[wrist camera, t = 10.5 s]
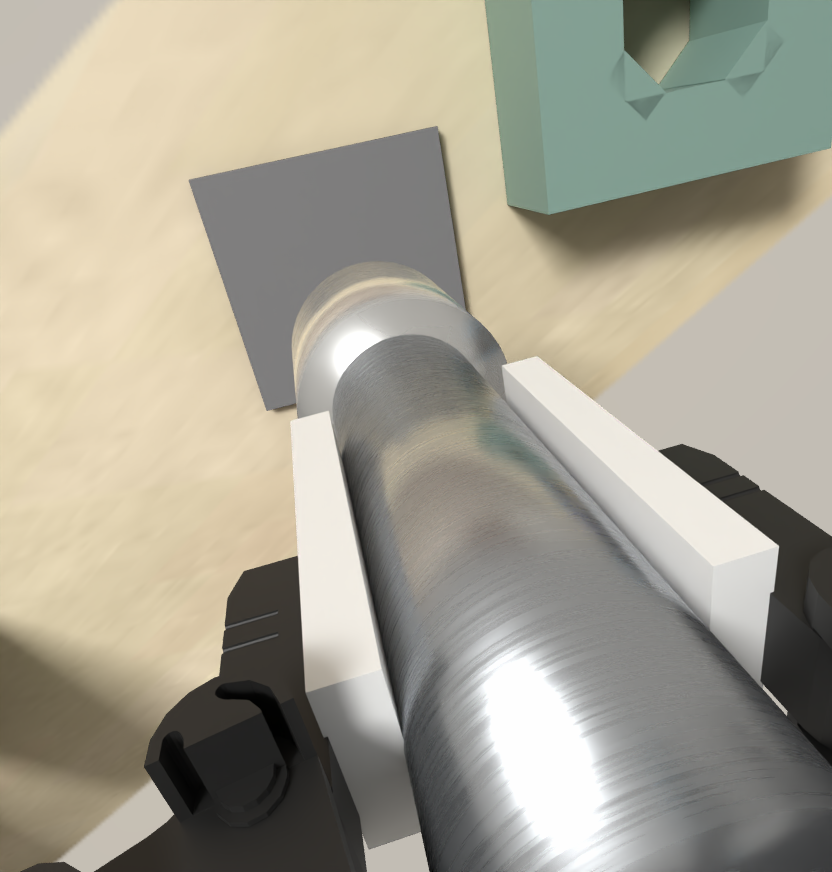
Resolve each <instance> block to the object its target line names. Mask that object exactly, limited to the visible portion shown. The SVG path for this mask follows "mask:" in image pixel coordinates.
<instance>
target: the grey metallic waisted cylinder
mask: <svg viewBox="0 0 832 872" xmlns="http://www.w3.org/2000/svg"><path fill="white" fill-rule="evenodd" d="M292 358H293V369H294V381H295V392H296V404H297V415H298V419H299V418H303V417H307V416H311V415H315V414H318V413H322V412H326V411H329V413H330V417H331V420H332V424H333V427H334V431H335V434H336V438H337V441H338V445H339V448H340V452H341V455H342V460H343V464H344V469H345V473H346V478H347V483H348V487H349V492H350V496H351V501H352V505H353V510H354V515H355V519H356V524H357V528H358V533H359V538H360V542H361V547H362V551H363V556H364V561H365V565H366V570H367V574H368V579H369V584H370V588H371V593H372V597H373V602H374V607H375V611H376V616H377V620H378V625H379V629H380V634H381V639H382V643H383V648H384V652H385V657H386V662H387V666H388V671H389V675H390V680H391V685H392V689H393V694H394V698H395V703H396V708H397V712H398V717H399V721H400V726H401V730H402V735H403V740H404V754H405V759H406V764H407V768H408V773H409V778H410V782H411V787H412V792H413V796H414V801H415V806H416V810H417V815H418V820H419V824H420V829H421V834H422V838H423V843H424V848H425V852H426V857H427V862H428V866H429V871H430V872H832V766H831V765H830V764H829V763H828V762H827V760H826V759H825V758H824V757H823V756H822V755H821V754H820V753H819V752H818V750H817V749H816V748H815V747H814V746H813V745H812V744H811V743H810V741H809V740H808V739H807V738H806V737H805V736H804V735H803V734H802V733H801V731H800V730H799V729H798V728H797V727H796V726H795V725H794V724H793V722H792V721H791V720H790V719H789V718H788V717H787V716H786V715H785V714H784V712H783V711H782V710H781V709H780V708H779V707H778V706H777V705H776V704H775V702H774V701H772V699H771V698H770V697H769V696H768V695H767V693H766V692H765V691H764V690H763V689H762V688H761V687H760V686H759V685H758V683H757V682H756V681H755V680H754V679H753V678H752V677H751V676H750V674H749V673H748V672H747V671H746V670H745V669H744V668H743V667H742V666H741V664H740V663H739V662H738V661H737V660H736V659H735V658H734V657H733V656H732V654H731V653H730V652H729V651H728V650H727V649H726V648H725V647H724V645H723V644H722V643H721V642H720V641H719V640H718V639H717V638H716V637H715V635H714V634H713V633H712V632H711V631H710V630H709V629H708V628H707V626H706V625H705V624H704V623H703V622H702V621H701V620H700V619H699V618H698V616H697V615H696V614H695V613H694V612H693V611H692V610H691V609H690V608H689V606H688V605H687V604H686V603H685V602H684V601H683V600H682V599H681V597H680V596H679V595H678V594H677V593H676V592H675V591H674V590H673V589H672V587H671V586H670V585H669V584H668V583H667V582H666V581H665V580H664V578H663V577H662V576H661V575H660V574H659V573H658V572H657V571H656V570H655V568H654V567H653V566H652V565H651V564H650V563H649V562H648V561H647V560H646V558H645V557H644V556H643V555H642V554H641V553H640V552H639V551H638V549H637V548H636V547H635V546H634V545H633V544H632V543H631V542H630V541H629V539H628V538H627V537H626V536H625V535H624V534H623V533H622V532H621V530H620V529H619V528H618V527H617V526H616V525H615V524H614V523H613V522H612V520H611V519H610V518H609V517H608V516H607V515H606V514H605V513H604V512H603V510H602V509H601V508H600V507H599V506H598V505H597V504H596V503H595V501H594V500H593V499H592V498H591V497H590V496H589V495H588V494H587V493H586V491H585V490H584V489H583V488H582V487H581V486H580V485H579V484H578V482H577V481H576V480H575V479H574V478H573V477H572V476H571V475H570V474H569V472H568V471H567V470H566V469H565V468H564V467H563V466H562V465H561V464H560V462H559V461H558V460H557V459H556V458H555V457H554V456H553V455H552V453H551V452H550V451H549V450H548V449H547V448H546V447H545V446H544V445H543V443H542V442H541V441H540V440H539V439H538V438H537V437H536V436H535V434H534V433H533V432H532V431H531V430H530V429H529V428H528V427H527V426H526V424H525V423H524V422H523V421H522V420H521V419H520V418H519V417H518V416H517V414H516V413H515V412H514V411H513V410H512V409H511V408H510V407H509V405H508V404H507V403H506V395H505V388H504V380H503V373H502V365H505V364H507V362H506V359H505V356H504V354H503V352H502V350H501V348H500V346H499V344H498V343H497V341H496V340H495V339H494V337H493V336H492V334H491V333H490V332H489V331H488V330H487V329H486V328H485V327H484V326H483V325H482V324H481V323H480V322H479V321H478V320H476V319H475V318H474V317H473V316H472V315H471V314H470V313H468V312H467V311H466V310H465V309H464V308H463V307H461V306H460V305H459V304H458V303H457V302H456V301H455V300H453V299H452V298H451V297H450V296H449V295H448V294H447V293H445V292H444V291H443V290H442V289H441V288H440V287H438V286H437V285H436V284H435V283H434V282H433V281H431V280H430V279H429V278H428V277H426V276H425V275H424V274H422V273H420V272H418V271H416V270H415V269H412V268H410V267H407V266H405V265H402V264H397V263H393V262H385V261H371V262H364V263H358V264H355V265H352V266H348V267H346V268H344V269H341V270H339V271H337V272H335V273H334V274H332V275H331V276H329V277H328V278H326V279H325V280H324V281H322V282H321V283H320V284H319V285H318V286H317V287H316V288H315V289H314V290H313V291H312V292H311V293H310V295H309V296H308V297H307V299H306V300H305V302H304V303H303V305H302V307H301V309H300V311H299V313H298V315H297V318H296V321H295V324H294V329H293V334H292Z"/></svg>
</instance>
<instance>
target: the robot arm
mask: <svg viewBox="0 0 832 872" xmlns="http://www.w3.org/2000/svg"><path fill="white" fill-rule="evenodd" d="M502 373H503V380H504V388H505V395H506V403H507V404H508V405H509V407H510V408H511V409H512V410H513V411H514V412H515V413H516V414H517V416H518V417H519V418H520V419H521V420H522V421H523V422H524V423H525V424H526V426H527V427H528V428H529V429H530V430H531V431H532V432H533V433H534V434H535V436H536V437H537V438H538V439H539V440H540V441H541V442H542V443H543V445H544V446H545V447H546V448H547V449H548V450H549V451H550V452H551V453H552V455H553V456H554V457H555V458H556V459H557V460H558V461H559V462H560V464H561V465H562V466H563V467H564V468H565V469H566V470H567V471H568V472H569V474H570V475H571V476H572V477H573V478H574V479H575V480H576V481H577V482H578V484H579V485H580V486H581V487H582V488H583V489H584V490H585V491H586V493H587V494H588V495H589V496H590V497H591V498H592V499H593V500H594V501H595V503H596V504H597V505H598V506H599V507H600V508H601V509H602V510H603V512H604V513H605V514H606V515H607V516H608V517H609V518H610V519H611V520H612V522H613V523H614V524H615V525H616V526H617V527H618V528H619V529H620V530H621V532H622V533H623V534H624V535H625V536H626V537H627V538H628V539H629V541H630V542H631V543H632V544H633V545H634V546H635V547H636V548H637V549H638V551H639V552H640V553H641V554H642V555H643V556H644V557H645V558H646V560H647V561H648V562H649V563H650V564H651V565H652V566H653V567H654V568H655V570H656V571H657V572H658V573H659V574H660V575H661V576H662V577H663V578H664V580H665V581H666V582H667V583H668V584H669V585H670V586H671V587H672V589H673V590H674V591H675V592H676V593H677V594H678V595H679V596H680V597H681V599H682V600H683V601H684V602H685V603H686V604H687V605H688V606H689V608H690V609H691V610H692V611H693V612H694V613H695V614H696V615H697V616H698V618H699V619H700V620H701V621H702V622H703V623H704V624H705V625H706V626H707V628H708V629H709V630H710V631H711V632H712V633H713V634H714V635H715V637H716V638H717V639H718V640H719V641H720V642H721V643H722V644H723V645H724V647H725V648H726V649H727V650H728V651H729V652H730V653H731V654H732V656H733V657H734V658H735V659H736V660H737V661H738V662H739V663H740V664H741V666H742V667H743V668H744V669H745V670H746V671H747V672H748V673H749V674H750V676H751V677H752V678H753V679H754V680H755V681H756V682H757V683H758V685H759V686H760V687H761V688H763V685H765V687H766V688H767V689H768V690H769V691H770V692H771V693H772V694H773V695H774V697H776V699H777V700H778V701H779V702H780V703H781V704H782V705H783V706H784V707H785V709H786V710H787V711H788V712H787V717H788V718H789V719H790V720H791V721H792V722H793V724H794V725H795V726H796V727H797V728H798V729H799V730H800V731H801V733H802V734H803V735H804V736H805V737H806V738H807V739H808V740H809V741H810V743H811V744H812V745H813V746H814V747H815V748H816V749H817V750H818V752H819V753H820V754H821V755H822V756H823V757H824V758H825V759H826V760H827V762H828V763H829V764H830V765H831V766H832V536H830V535H829V534H827V533H826V532H824V531H823V530H822V529H820V528H819V527H817V526H816V525H814V524H813V523H811V522H810V521H808V520H807V519H806V518H804V517H803V516H801V515H800V514H798V513H797V512H795V511H794V510H793V509H791V508H790V507H788V506H787V505H785V504H784V503H782V502H781V501H780V500H778V499H777V498H775V497H774V496H772V495H771V494H770V493H768V492H767V491H765V490H762V491H761V490H760V489H759V486H758V485H756V484H755V483H754V482H752V481H751V480H749V479H748V478H746V477H745V476H740V475H739V473H738V471H736V470H735V469H734V468H732V467H731V466H729V465H728V464H726V463H725V462H723V461H722V460H721V459H719V458H717V457H716V456H715V455H713V454H709V453H706V452H704V451H701V450H698V449H695V448H692V447H689V446H686V445H683V444H680V445H677V446H673V447H670V448H666V449H663V450H659V451H657V450H656V449H655V448H653V447H652V446H651V445H650V444H648V443H647V442H646V441H644V440H643V439H642V438H641V437H639V436H638V435H637V434H635V433H634V432H633V431H632V430H630V429H629V428H628V427H627V426H625V425H624V424H623V423H622V422H620V421H619V420H618V419H616V418H615V417H614V416H613V415H611V414H610V413H609V412H607V411H606V410H605V409H604V408H602V407H601V406H599V404H597V403H596V402H595V401H594V400H592V399H591V398H590V397H588V396H587V395H586V394H585V393H583V392H582V391H581V390H580V389H578V388H577V387H576V386H574V385H573V384H572V383H571V382H569V381H568V380H567V379H566V378H564V377H563V376H562V375H560V374H559V373H558V372H557V371H555V370H554V369H553V368H552V367H550V366H549V365H548V364H546V363H545V362H544V361H543V360H541V359H540V358H539V357H537V356H536V357H532V358H528V359H525V360H521V361H517V362H513V363H509V364H505V365H502ZM291 439H292V457H293V475H294V493H295V511H296V529H297V547H298V556H296V557H292V558H289V559H285V560H282V561H278V562H275V563H271V564H268V565H264V566H261V567H257V568H254V569H250V570H247V571H244V572H243V574H242V575H241V577H240V578H239V580H238V582H237V583H236V585H235V587H234V588H233V590H232V592H231V593H230V595H229V597H228V600H227V609H226V619H225V628H226V630H225V631H224V637H223V646H222V649H223V654H222V656H221V665H220V674H219V676H218V677H215V678H213V679H211V680H210V681H208V682H206V683H205V684H203V685H201V686H199V687H198V688H196V689H194V690H193V691H191V692H189V693H188V694H187V695H186V696H185V697H184V698H183V699H182V700H181V701H180V702H179V703H178V704H177V705H175V706H174V707H173V708H172V709H171V710H170V711H169V712H168V713H167V714H166V715H165V717H164V719H163V720H162V722H161V723H160V725H159V727H158V728H157V730H156V732H155V733H154V735H153V736H152V738H151V740H150V743H149V747H148V752H147V756H146V760H145V765H144V768H145V769H146V771H147V772H148V774H149V775H150V777H151V779H152V780H153V782H154V783H155V785H156V786H157V788H158V790H159V791H160V793H161V794H162V796H163V797H164V799H165V800H166V802H167V803H168V805H169V806H170V808H171V810H172V811H173V813H174V815H173V816H172V817H171V818H170V819H169V820H168V821H167V822H166V823H165V824H164V825H162V826H161V827H160V828H158V829H157V830H156V831H155V832H153V833H152V834H151V835H149V836H148V837H147V838H145V839H144V840H142V841H141V842H139V843H138V844H136V845H134V846H133V847H131V848H130V849H128V850H127V851H125V852H124V853H122V854H121V855H119V856H118V857H116V858H114V859H113V860H111V861H110V862H108V863H107V864H105V865H104V866H102V867H101V868H99V869H98V870H96V871H94V872H367V870H366V861H365V853H364V846H363V837H362V834H363V836H364V839H365V841H366V844H367V846H368V849H372V848H375V847H378V846H381V845H384V844H387V843H390V842H392V841H395V840H399V839H401V838H404V837H407V836H410V835H413V834H416V833H419V832H421V829H420V824H419V820H418V815H417V810H416V806H415V801H414V796H413V792H412V787H411V782H410V778H409V773H408V768H407V764H406V759H405V754H404V740H403V735H402V730H401V726H400V721H399V717H398V712H397V708H396V703H395V698H394V694H393V689H392V685H391V680H390V675H389V671H388V666H387V662H386V657H385V652H384V648H383V643H382V639H381V634H380V629H379V625H378V620H377V616H376V611H375V607H374V602H373V597H372V593H371V588H370V584H369V579H368V574H367V570H366V565H365V561H364V556H363V551H362V547H361V542H360V538H359V533H358V528H357V524H356V519H355V515H354V510H353V505H352V501H351V496H350V492H349V487H348V483H347V478H346V473H345V469H344V464H343V460H342V455H341V452H340V448H339V445H338V441H337V438H336V434H335V431H334V427H333V424H332V420H331V417H330V413H329V411H326V412H322V413H318V414H315V415H311V416H307V417H303V418H299V419H295V420H292V421H291ZM21 872H80V871H79V870H77V869H75V868H74V867H72V866H70V865H68V864H67V863H65V862H57V863H40V864H36V865H34V866H32V867H30V868H27V869H25V870H23V871H21Z"/></svg>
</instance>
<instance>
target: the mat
mask: <svg viewBox="0 0 832 872" xmlns="http://www.w3.org/2000/svg"><path fill="white" fill-rule="evenodd" d="M189 183H190V186H191V189H192V192H193V195H194V198H195V200H196V203H197V206H198V209H199V212H200V215H201V218H202V221H203V224H204V227H205V230H206V233H207V236H208V239H209V242H210V245H211V248H212V251H213V254H214V257H215V259H216V262H217V265H218V268H219V271H220V274H221V277H222V280H223V283H224V286H225V289H226V292H227V295H228V298H229V301H230V304H231V307H232V310H233V313H234V316H235V319H236V321H237V324H238V327H239V330H240V333H241V336H242V339H243V342H244V345H245V348H246V351H247V354H248V357H249V360H250V363H251V366H252V369H253V372H254V375H255V378H256V380H257V383H258V386H259V389H260V392H261V395H262V398H263V401H264V404H265V407H266V410H267V411H268V410H272V409H276V408H280V407H284V406H288V405H292V404H296V392H295V381H294V369H293V358H292V334H293V329H294V324H295V321H296V318H297V315H298V313H299V311H300V309H301V307H302V305H303V303H304V302H305V300H306V299H307V297H308V296H309V295H310V293H311V292H312V291H313V290H314V289H315V288H316V287H317V286H318V285H319V284H320V283H321V282H322V281H324V280H325V279H326V278H328V277H329V276H331V275H332V274H334V273H335V272H337V271H339V270H341V269H344V268H346V267H348V266H352V265H355V264H358V263H364V262H371V261H385V262H393V263H397V264H402V265H405V266H407V267H410V268H412V269H415V270H416V271H418V272H420V273H422V274H424V275H425V276H426V277H428V278H429V279H430V280H431V281H433V282H434V283H435V284H436V285H437V286H438V287H440V288H441V289H442V290H443V291H444V292H445V293H447V294H448V295H449V296H450V297H451V298H452V299H453V300H455V301H456V302H457V303H458V304H459V305H460V306H461V307H463V308H464V309H465V302H464V296H463V289H462V283H461V276H460V270H459V263H458V257H457V250H456V244H455V237H454V231H453V224H452V218H451V211H450V205H449V198H448V192H447V185H446V179H445V172H444V166H443V159H442V153H441V146H440V140H439V133H438V127H437V126H436V127H431V128H426V129H421V130H417V131H412V132H408V133H403V134H398V135H394V136H389V137H384V138H380V139H375V140H371V141H366V142H361V143H357V144H352V145H348V146H343V147H338V148H334V149H329V150H324V151H320V152H315V153H311V154H306V155H301V156H297V157H292V158H287V159H283V160H278V161H274V162H269V163H264V164H260V165H255V166H251V167H246V168H241V169H237V170H232V171H227V172H223V173H218V174H214V175H209V176H204V177H200V178H195V179H190V180H189ZM465 310H466V309H465Z"/></svg>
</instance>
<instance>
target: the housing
mask: <svg viewBox="0 0 832 872" xmlns="http://www.w3.org/2000/svg"><path fill="white" fill-rule="evenodd" d="M485 6H486V15H487V24H488V33H489V42H490V51H491V60H492V69H493V78H494V87H495V96H496V105H497V114H498V123H499V132H500V141H501V150H502V159H503V168H504V177H505V186H506V195H507V204H508V205H510V206H514V207H518V208H523V209H527V210H531V211H535V212H539V213H544V214H548V215H550V214H554V213H558V212H562V211H567V210H571V209H575V208H579V207H584V206H588V205H592V204H596V203H601V202H605V201H609V200H613V199H617V198H622V197H626V196H630V195H634V194H639V193H643V192H647V191H651V190H656V189H660V188H664V187H668V186H672V185H677V184H681V183H685V182H689V181H694V180H698V179H702V178H706V177H711V176H715V175H719V174H723V173H728V172H732V171H736V170H740V169H744V168H749V167H753V166H757V165H761V164H766V163H770V162H774V161H778V160H783V159H787V158H791V157H795V156H800V155H804V154H808V153H812V152H816V151H821V150H825V149H829V148H831V142H832V0H690V31H689V42H688V43H687V45H686V46H685V48H684V49H683V50H682V52H681V53H680V55H679V56H678V58H677V59H676V61H675V62H674V64H673V65H672V66H671V68H670V69H669V71H668V72H667V74H666V75H665V77H664V78H663V80H662V81H661V82H660V84H659V85H658V84H657V83H656V82H655V81H654V80H653V79H652V78H651V77H650V76H649V75H648V74H647V73H646V72H645V71H644V70H643V69H642V68H641V66H640V65H639V64H638V63H637V62H636V61H635V60H634V59H633V58H632V57H631V56H630V55H629V54H628V53H627V52H626V51H625V50H624V28H623V0H485Z"/></svg>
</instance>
